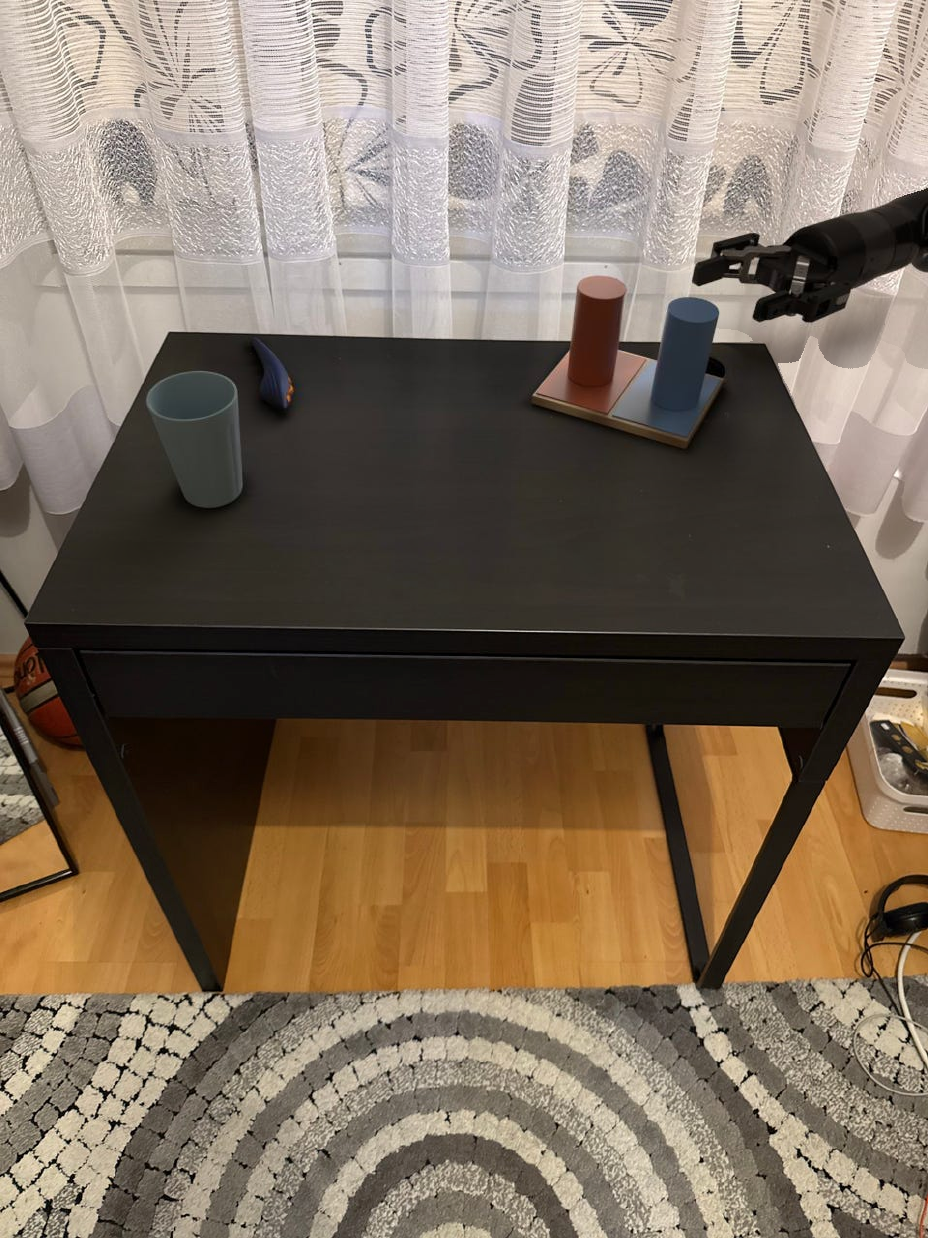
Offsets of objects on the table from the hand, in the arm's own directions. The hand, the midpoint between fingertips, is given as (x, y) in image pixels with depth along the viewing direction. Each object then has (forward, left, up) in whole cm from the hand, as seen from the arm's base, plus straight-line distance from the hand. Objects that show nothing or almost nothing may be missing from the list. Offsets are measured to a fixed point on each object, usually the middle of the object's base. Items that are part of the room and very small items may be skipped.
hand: (725, 293), depth 91 cm
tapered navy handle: (+42, +19, -12) cm, 48 cm away
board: (+7, +3, -12) cm, 14 cm away
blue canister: (+2, +3, -11) cm, 11 cm away
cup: (+36, +37, -12) cm, 53 cm away
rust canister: (+12, +3, -11) cm, 16 cm away
